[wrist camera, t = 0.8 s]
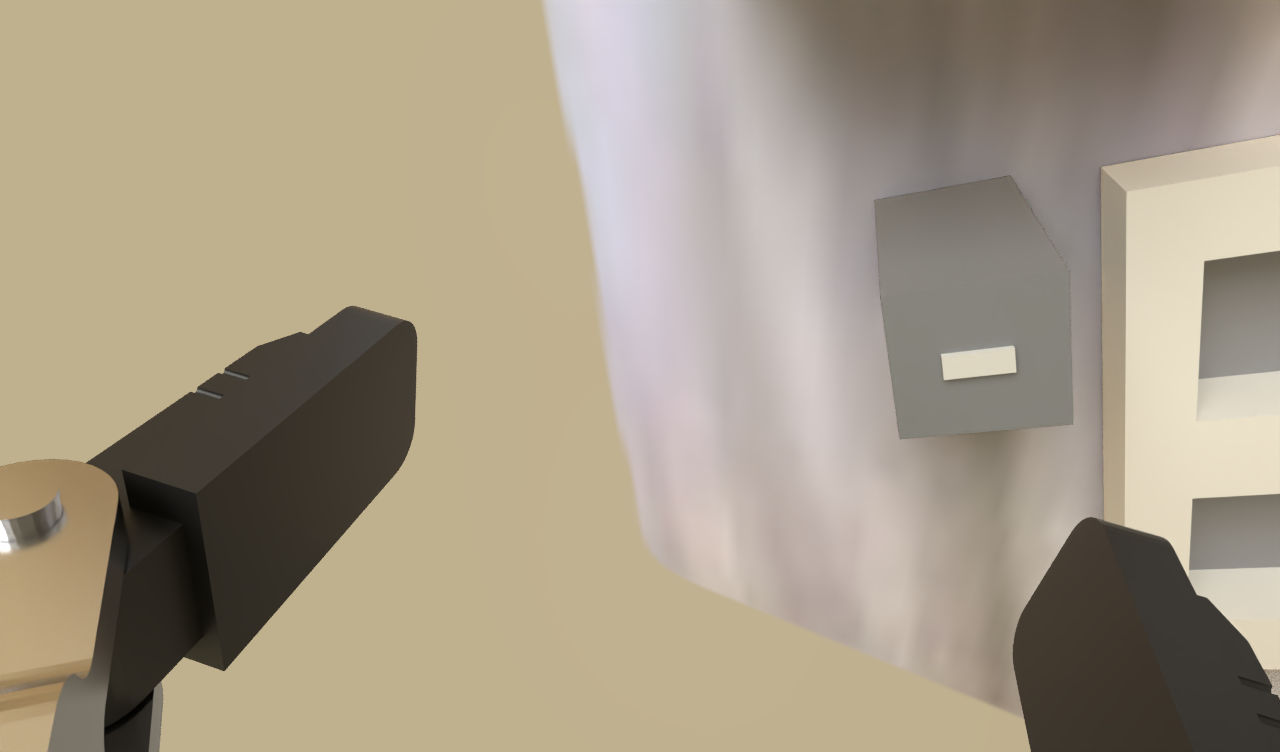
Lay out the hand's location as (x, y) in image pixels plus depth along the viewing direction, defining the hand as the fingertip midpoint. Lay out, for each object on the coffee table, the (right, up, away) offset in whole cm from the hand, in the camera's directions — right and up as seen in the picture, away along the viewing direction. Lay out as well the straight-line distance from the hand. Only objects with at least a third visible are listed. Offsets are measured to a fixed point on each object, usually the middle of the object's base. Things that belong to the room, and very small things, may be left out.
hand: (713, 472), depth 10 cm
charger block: (+10, +6, +19) cm, 23 cm away
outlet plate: (+22, 0, +19) cm, 29 cm away
